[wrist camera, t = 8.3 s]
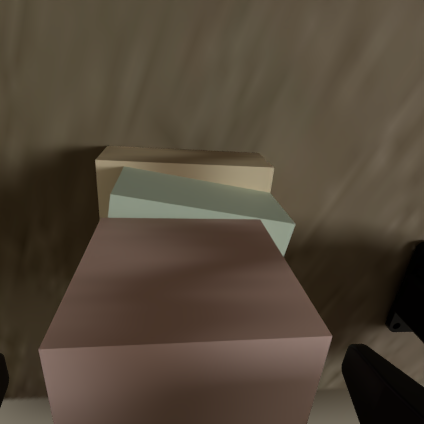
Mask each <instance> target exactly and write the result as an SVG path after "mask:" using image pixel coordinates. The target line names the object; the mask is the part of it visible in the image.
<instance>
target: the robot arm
mask: <svg viewBox="0 0 424 424" xmlns="http://www.w3.org/2000/svg"><path fill="white" fill-rule="evenodd" d="M385 324H386V326H387V327H388V329H389V330H390V331H392V332H414V333H415V334H416V335H417V337H418V338H419V339H420V340H421V341H422V342H423V343H424V242H422V243H420V244H419V245H418V246H417V247H416V249H415V251H414V254H413V256H412V259H411V261H410V264H409V266H408V268H407V271H406V273H405V276H404V278H403V281H402V283H401V286H400V288H399V291H398V293H397V295H396V298H395V300H394V303H393V305H392V308H391V310H390V313H389V315H388V317H387V320H386V323H385ZM342 374H343V377H344V380H345V382H346V385H347V388H348V391H349V394H350V397H351V399H352V402H353V405H354V408H355V411H356V413H357V416H358V419H359V422H360V424H424V387H423V386H421V385H420V384H419V383H417V382H416V381H415V380H413V379H412V378H410V377H409V376H408V375H406V374H405V373H404V372H402V371H401V370H400V369H398V368H397V367H395V366H394V365H393V364H391V363H390V362H389V361H387V360H386V359H384V358H383V357H382V356H380V355H379V354H378V353H376V352H375V351H374V350H372V349H371V348H369V347H368V346H366V345H364V344H351V345H350V346H348V349H347V351H346V354H345V357H344V360H343V363H342ZM8 383H9V374H8V370H7V366H6V362H5V358H4V355H3V354H2V353H0V407H1V404H2V401H3V399H4V396H5V393H6V390H7V387H8Z"/></svg>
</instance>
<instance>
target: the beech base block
mask: <svg viewBox="0 0 424 424" xmlns="http://www.w3.org/2000/svg"><path fill="white" fill-rule="evenodd" d="M95 164H96V178H97V191H98V204H99V218H100V219H101V218H108V211H109V202H110V194H111V192H112V190H113V188H114V186H115V184H116V182H117V180H118V178H119V176H120V174H121V172H122V170H123V168H124V166H125V167H131V168H136V169H142V170H147V171H153V172H158V173H164V174H169V175H175V176H180V177H186V178H191V179H197V180H203V181H208V182H214V183H219V184H225V185H230V186H236V187H241V188H247V189H252V190H258V191H263V192H269V193H270V191H271V184H272V178H273V172H274V167H273V166H272V165H271V164H270V163H269V162H268V161H267V160H265V159H264V158H263V157H262V156H261V155H260V154H259V153H246V152H225V151H205V150H185V149H165V148H144V147H124V146H107V147H106V148H105V149H104V150H103V152H102V153H101V154H100V155H99V156H98V157H97V158H96V160H95Z"/></svg>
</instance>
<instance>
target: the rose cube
mask: <svg viewBox="0 0 424 424" xmlns="http://www.w3.org/2000/svg"><path fill="white" fill-rule="evenodd" d="M331 339H332V335H331V333H330V331H329V330H328V328H327V327H326V325H325V323H324V322H323V320H322V318H321V317H320V315H319V314H318V312H317V310H316V309H315V307H314V305H313V304H312V302H311V301H310V299H309V297H308V296H307V294H306V293H305V291H304V289H303V288H302V286H301V284H300V283H299V281H298V280H297V278H296V276H295V275H294V273H293V272H292V270H291V268H290V267H289V265H288V263H287V262H286V260H285V259H284V257H283V255H282V254H281V252H280V251H279V249H278V247H277V246H276V244H275V242H274V241H273V239H272V238H271V236H270V234H269V233H268V231H267V230H266V228H265V226H264V225H263V223H262V221H261V220H260V219H179V218H101V219H100V221H99V223H98V225H97V227H96V229H95V232H94V234H93V236H92V238H91V240H90V242H89V244H88V246H87V248H86V250H85V253H84V255H83V257H82V259H81V261H80V263H79V265H78V267H77V269H76V272H75V274H74V276H73V278H72V280H71V282H70V284H69V286H68V288H67V290H66V293H65V295H64V297H63V299H62V301H61V303H60V305H59V307H58V309H57V312H56V314H55V316H54V318H53V320H52V322H51V324H50V326H49V328H48V330H47V333H46V335H45V337H44V339H43V341H42V343H41V345H40V347H39V349H38V350H39V354H40V359H41V364H42V369H43V374H44V379H45V384H46V388H47V393H48V398H49V403H50V407H51V413H52V417H53V422H54V424H307V421H308V418H309V415H310V411H311V408H312V404H313V401H314V397H315V394H316V391H317V387H318V384H319V380H320V377H321V374H322V370H323V367H324V363H325V360H326V356H327V353H328V350H329V346H330V343H331Z"/></svg>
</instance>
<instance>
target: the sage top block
mask: <svg viewBox="0 0 424 424" xmlns="http://www.w3.org/2000/svg"><path fill="white" fill-rule="evenodd" d="M108 218H179V219H260V220H261V221H262V223H263V225H264V226H265V228H266V230H267V231H268V233H269V234H270V236H271V238H272V239H273V241H274V242H275V244H276V246H277V247H278V249H279V251H280V252H281V254H282V255H283V257H284V255H285V252H286V249H287V246H288V244H289V241H290V238H291V235H292V233H293V230H294V227H295V223H294V222H293V220H292V219H291V218H290V217H289V216H288V214H287V213H286V212H285V211H284V209H283V208H282V207H281V206H280V204H279V203H278V202H277V201H276V200H275V198H274V197H273V196H272V195H271V193H269V192H263V191H258V190H252V189H247V188H241V187H236V186H230V185H225V184H219V183H214V182H208V181H203V180H197V179H191V178H186V177H180V176H175V175H169V174H164V173H158V172H153V171H147V170H142V169H136V168H131V167H125V166H124V168H123V170H122V172H121V174H120V176H119V178H118V180H117V182H116V184H115V186H114V188H113V190H112V192H111V194H110V202H109V211H108Z"/></svg>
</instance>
